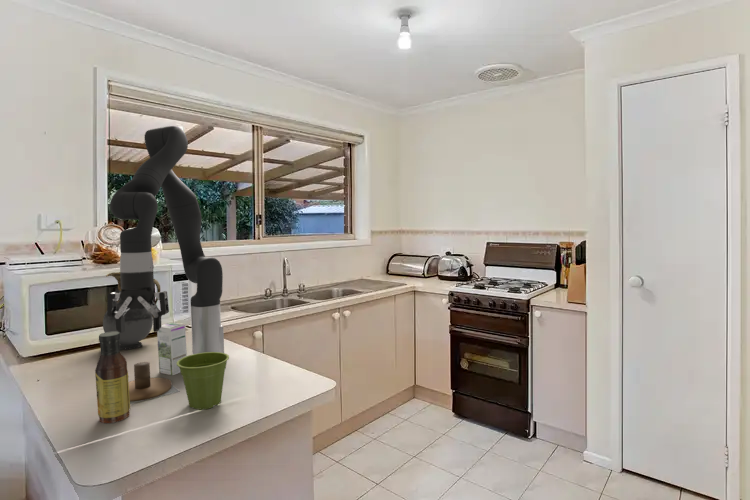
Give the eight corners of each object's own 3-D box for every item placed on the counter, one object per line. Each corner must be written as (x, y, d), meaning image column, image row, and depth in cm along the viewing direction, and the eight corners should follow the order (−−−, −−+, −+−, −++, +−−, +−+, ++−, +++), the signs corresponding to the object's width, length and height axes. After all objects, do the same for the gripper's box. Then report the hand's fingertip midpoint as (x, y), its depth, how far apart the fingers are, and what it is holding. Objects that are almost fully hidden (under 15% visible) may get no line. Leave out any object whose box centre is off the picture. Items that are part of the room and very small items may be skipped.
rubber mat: (163, 379, 124) (163, 377, 124) (179, 392, 113) (179, 391, 113) (106, 392, 114) (106, 390, 114) (119, 408, 104) (119, 406, 104)
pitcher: (101, 348, 156) (97, 265, 154) (158, 338, 169) (155, 261, 167) (107, 355, 148) (103, 267, 146) (167, 344, 161) (163, 263, 159)
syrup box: (188, 370, 131) (186, 323, 130) (171, 376, 125) (169, 327, 125) (174, 368, 133) (173, 321, 132) (158, 374, 128) (156, 325, 127)
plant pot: (173, 403, 107) (171, 358, 106) (221, 391, 114) (220, 349, 113) (185, 419, 97) (183, 370, 97) (237, 405, 105) (236, 360, 104)
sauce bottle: (107, 413, 101) (103, 329, 100) (135, 412, 102) (131, 328, 100) (91, 426, 95) (87, 337, 93) (121, 425, 95) (117, 336, 94)
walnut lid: (162, 378, 123) (161, 353, 123) (178, 391, 113) (177, 364, 113) (107, 390, 114) (106, 364, 114) (119, 406, 104) (118, 377, 104)
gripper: (100, 271, 107) (102, 336, 108) (160, 270, 109) (162, 334, 110) (114, 268, 115) (117, 329, 116) (170, 267, 116) (172, 327, 117)
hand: (139, 331), depth 113 cm, fingers open, 8 cm apart
